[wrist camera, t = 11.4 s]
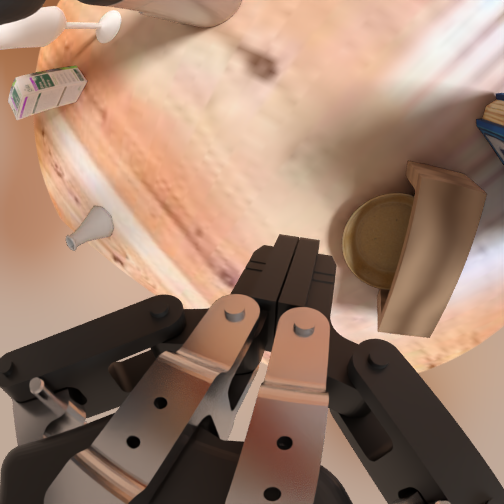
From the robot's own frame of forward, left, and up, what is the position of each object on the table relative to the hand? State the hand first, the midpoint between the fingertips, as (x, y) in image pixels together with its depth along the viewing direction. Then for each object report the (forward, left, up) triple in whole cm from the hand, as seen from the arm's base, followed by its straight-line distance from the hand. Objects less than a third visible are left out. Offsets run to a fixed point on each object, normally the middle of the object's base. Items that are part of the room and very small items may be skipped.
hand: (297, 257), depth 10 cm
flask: (-45, -16, -27) cm, 54 cm away
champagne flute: (-36, +23, -26) cm, 50 cm away
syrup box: (-46, +14, -26) cm, 55 cm away
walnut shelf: (+14, -12, -26) cm, 32 cm away
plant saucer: (+10, -12, -27) cm, 31 cm away
